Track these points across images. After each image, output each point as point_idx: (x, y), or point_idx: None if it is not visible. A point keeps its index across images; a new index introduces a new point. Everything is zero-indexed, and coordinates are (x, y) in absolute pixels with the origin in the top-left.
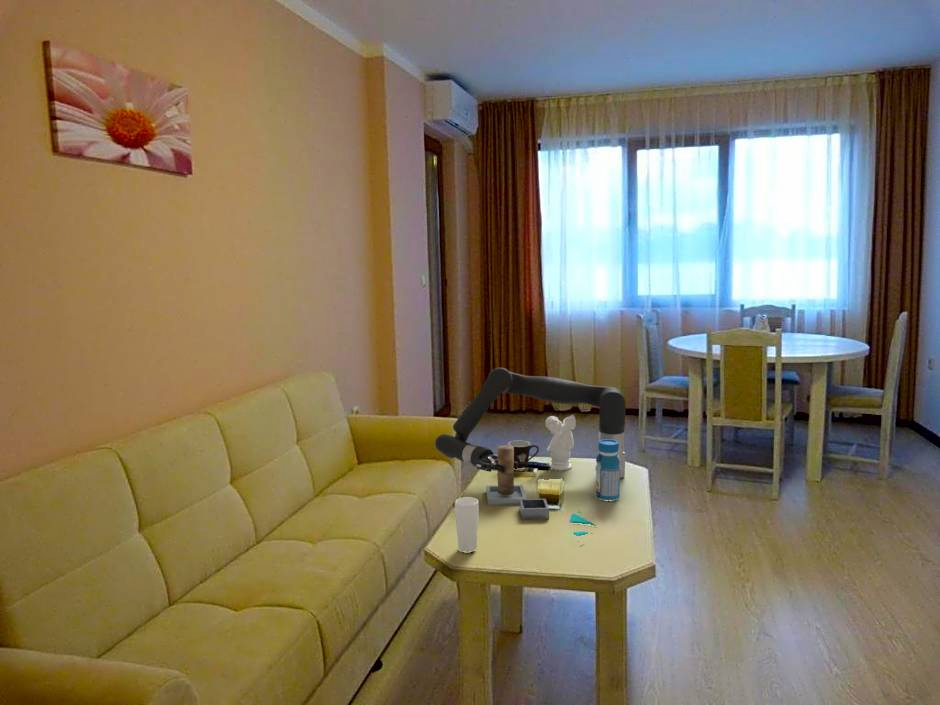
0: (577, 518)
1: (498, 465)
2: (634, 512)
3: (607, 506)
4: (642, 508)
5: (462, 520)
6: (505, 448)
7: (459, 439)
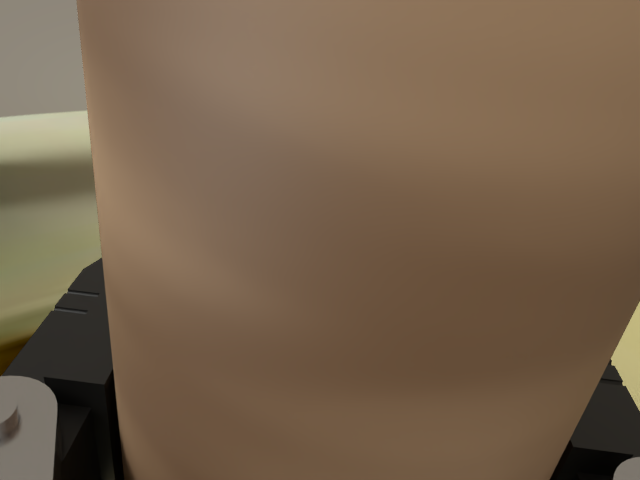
0: None
1: (594, 399)
2: (61, 125)
3: (33, 175)
4: (2, 118)
5: None
6: None
7: None
